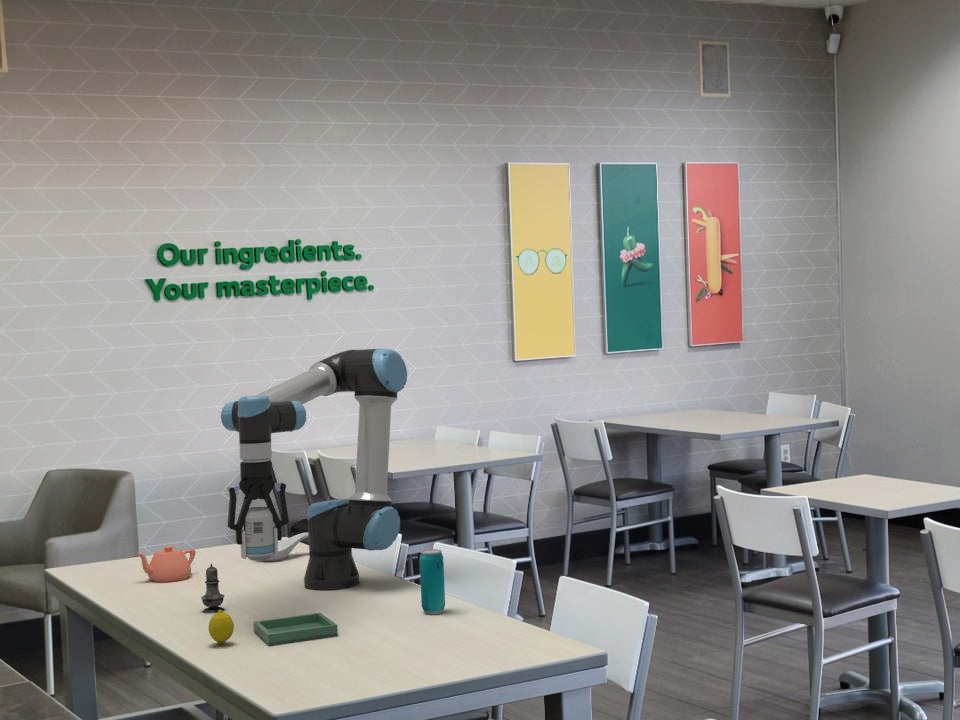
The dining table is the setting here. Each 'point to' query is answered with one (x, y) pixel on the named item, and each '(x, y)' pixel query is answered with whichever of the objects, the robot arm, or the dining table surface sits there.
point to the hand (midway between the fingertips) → (259, 556)
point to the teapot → (168, 564)
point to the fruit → (221, 627)
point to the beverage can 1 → (259, 533)
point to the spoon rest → (287, 547)
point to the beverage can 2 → (432, 581)
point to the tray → (295, 629)
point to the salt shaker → (212, 592)
